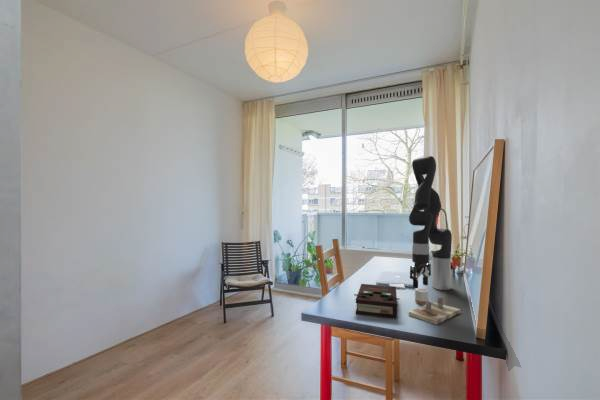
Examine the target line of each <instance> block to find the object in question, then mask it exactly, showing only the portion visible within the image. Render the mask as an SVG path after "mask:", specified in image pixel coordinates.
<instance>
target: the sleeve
mask: <svg viewBox="0 0 600 400" xmlns="http://www.w3.org/2000/svg"><path fill="white" fill-rule="evenodd" d="M429 292H430V291H429V290H428V289H427V288H423V287H418V288H414V302H415V304H419V305H422V306H424V305H426V302H430V301H429V299H430V297H429V296H430V294H429Z"/></svg>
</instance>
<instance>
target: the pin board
mask: <svg viewBox="0 0 600 400" xmlns="http://www.w3.org/2000/svg"><path fill="white" fill-rule="evenodd" d="M456 314H457V315H458V314H461V309H460V308H457V307H453V306H449V305H446V304H444V297H442V296H438V297H437V302H434V301H429V302H426V305H422V306H419V307H417V308H415V309H412V310H409V311H408V316H411V317H412V318H417V319H418V320H419V319H420V320H422V321H424V322H427V323H431V324H434V325H439V324H441V323H444V320H445V321H446V319H447V320H448V319H451V318H452V316H453V317H455V316H456ZM454 315H455V316H454Z"/></svg>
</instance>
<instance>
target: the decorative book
mask: <svg viewBox="0 0 600 400" xmlns="http://www.w3.org/2000/svg"><path fill="white" fill-rule="evenodd" d="M353 295H354V296H356V298H355V304H356V306H355V307H356V309H355V315H359V316H360V315H361V316H369V317H375V318H376V317H379V318H384V319H385V318H387V319H395V320H397V319H398V301H399V300H401V299H400V298H398V297H397V289H396V287H394V286H389V285H379V284H378V285H377V284H368V283H367V284H366V283H361V284H360V287H359V290H358V292H357V294H356V293H355V294H353Z"/></svg>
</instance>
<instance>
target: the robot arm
mask: <svg viewBox="0 0 600 400" xmlns="http://www.w3.org/2000/svg"><path fill="white" fill-rule="evenodd" d="M411 167H412V171H413V172H412V173H413V174H414V176H415V177H414V178H415V181H416V184H417V186H418V187H417V189H416V190H415V196H414V203H413V207H412V209H411V211H410V212H409V216H408V221H409V224H411V226H416V227H417V226H418V227H419V226H421V227H424V228H423V229H418V230H415V231H413V233H412V249H411V250H412V252H411V253H412V255H411V257H412V258H411V259H412V260H411V261H412V263H414V265H410V267H409V279H411V280H412V287H413V288H414V289H417V288H419V278H420V277H421V276H423V277H422V284H423V286H429V277H430V276H432V278H431V279H432V283H431V284H432V288H434V289H436V290H441V291H450V290H451V289H452V288H451V287H452V282H451V281H452V276H451V275H452V273H451V272H452V271H451V260H452V259H451V254H452V243H453V236H452V231H451V230H450V229H447V228H438V227H437V218H438V217H439V214H440V212H441V210H442V203H441V198H440V195H439V193H438V192H437V191H436V190H435V189H434V188H433V187H432V186H433V183H434V180H435V175H436V171H437V162H436V159H435V157H434V156H432V155H428V156H422V157H417V158H414V159H413V160H412V162H411ZM424 175H425V177H424ZM429 243H431V244H432V245H439V246H441V248H440V249H436V250H433V251H432V253H431V254H432V256H431V260H432V263H430V245H429Z"/></svg>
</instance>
